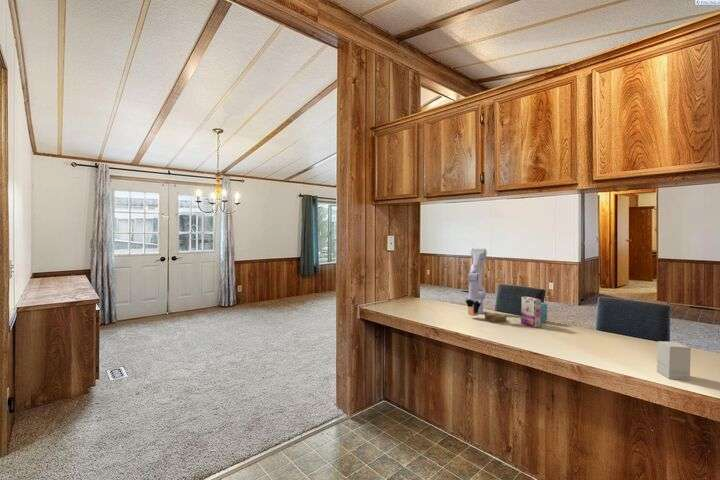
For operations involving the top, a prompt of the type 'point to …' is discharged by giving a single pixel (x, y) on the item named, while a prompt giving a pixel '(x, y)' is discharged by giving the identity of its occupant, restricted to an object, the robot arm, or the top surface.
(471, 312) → the terracotta block
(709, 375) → the top surface
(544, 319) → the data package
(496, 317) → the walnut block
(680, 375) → the supplement box
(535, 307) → the candy bar box
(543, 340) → the top surface
